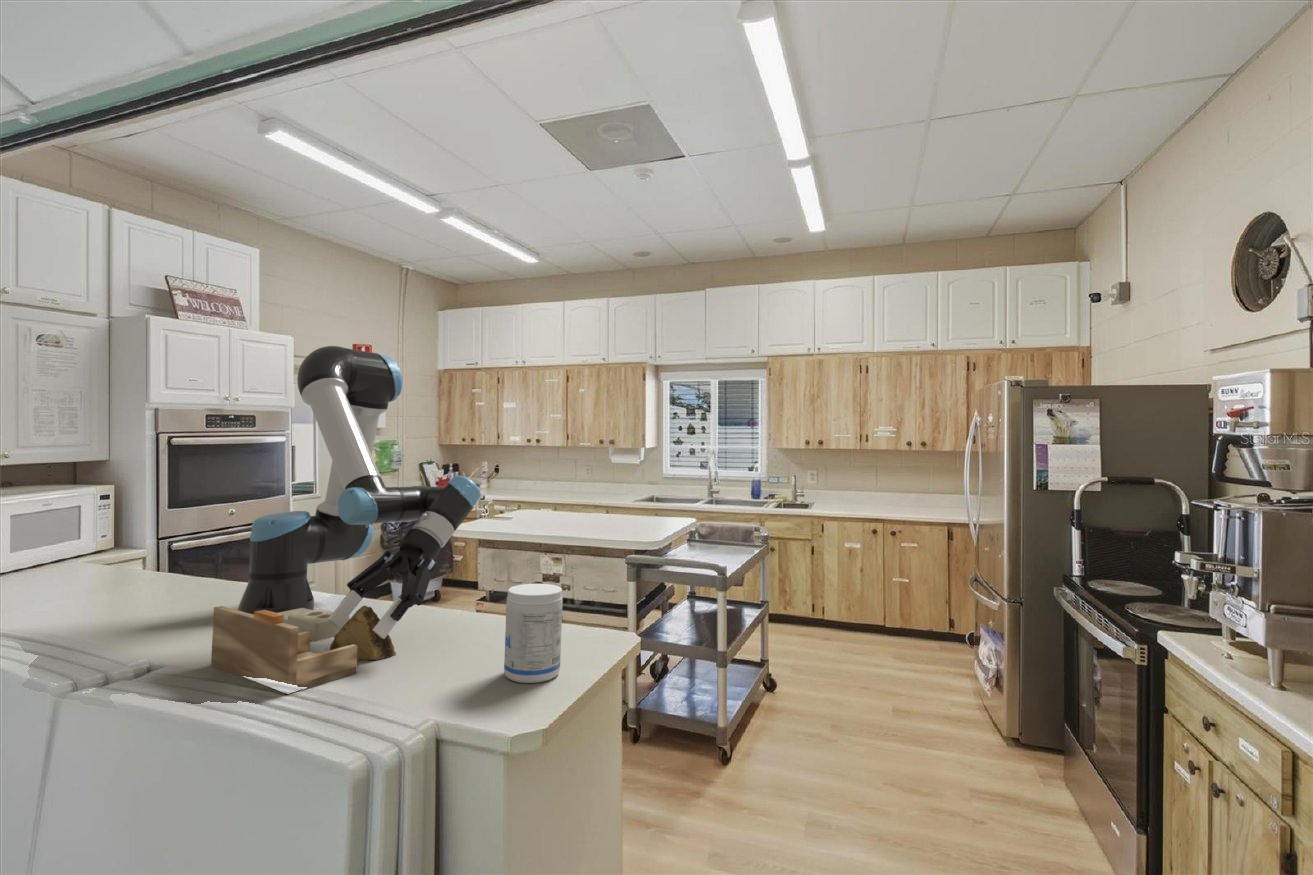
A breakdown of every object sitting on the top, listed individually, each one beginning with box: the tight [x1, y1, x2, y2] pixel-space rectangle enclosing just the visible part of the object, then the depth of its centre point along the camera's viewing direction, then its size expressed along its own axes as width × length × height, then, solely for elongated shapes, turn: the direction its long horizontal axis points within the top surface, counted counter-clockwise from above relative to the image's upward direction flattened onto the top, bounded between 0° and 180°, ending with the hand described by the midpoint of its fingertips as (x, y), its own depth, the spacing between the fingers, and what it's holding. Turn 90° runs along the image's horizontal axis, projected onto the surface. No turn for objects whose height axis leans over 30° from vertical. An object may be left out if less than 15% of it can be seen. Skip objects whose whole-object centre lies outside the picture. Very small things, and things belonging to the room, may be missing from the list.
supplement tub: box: [503, 583, 563, 684], centre depth 102 cm, size 10×10×15 cm
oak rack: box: [210, 605, 358, 689], centre depth 102 cm, size 11×25×11 cm, turn 60°
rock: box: [329, 605, 397, 661], centre depth 110 cm, size 11×9×10 cm
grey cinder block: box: [279, 608, 351, 642], centre depth 125 cm, size 7×4×18 cm
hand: (355, 628), depth 108 cm, fingers open, 13 cm apart
